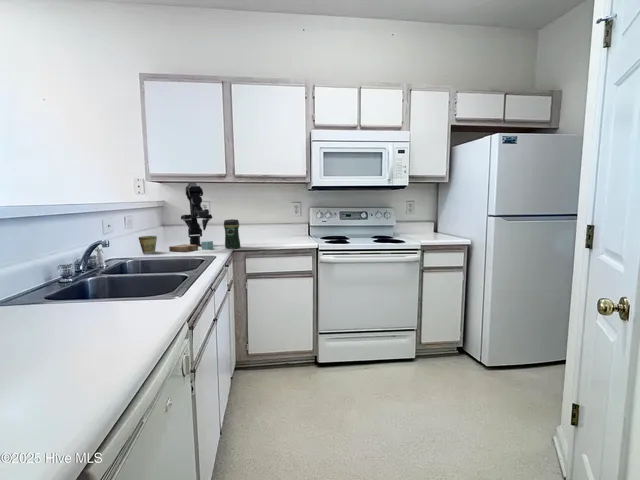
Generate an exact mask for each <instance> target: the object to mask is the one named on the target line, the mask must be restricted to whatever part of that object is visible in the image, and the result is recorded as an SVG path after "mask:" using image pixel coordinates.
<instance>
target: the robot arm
mask: <svg viewBox="0 0 640 480" xmlns="http://www.w3.org/2000/svg"><path fill="white" fill-rule="evenodd" d="M203 191H204V190H203V188H202V187H201V186H200V185H197V183H196V182H188V185H187V186H185V196H186V199H187V200H188V201H189V212H190V213H189V214H181V215H180V220H182V221H183V222H184V223H185V224H186V226H187V228H188V230H187V232H188V233H187V234H188V235H187V237H188V238H189V245H198V247H199V246H202V245H201V237H203V231H206V229H207V224H208V223H209V221H211V219H213V215H212V213H211V214H210V210H209V209H207V208H205V209H203V207H202V202H203V198H202V197H203V195H204V192H203ZM198 219H201V221H202V227H201V224H200V223H199V222H198Z"/></svg>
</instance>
